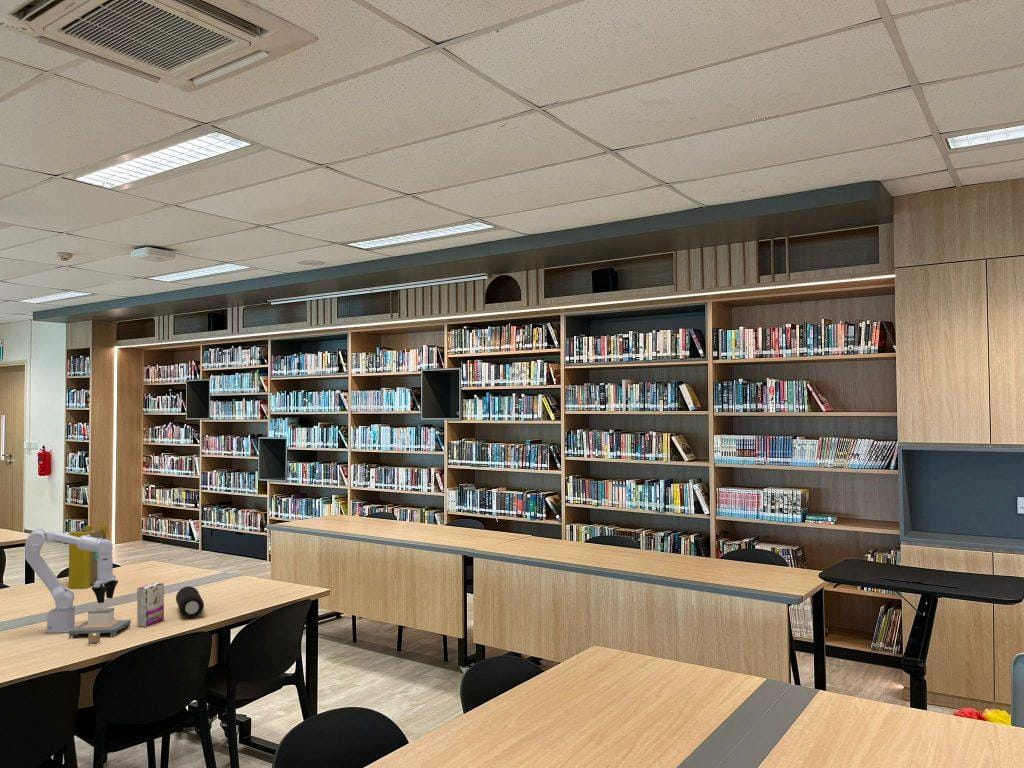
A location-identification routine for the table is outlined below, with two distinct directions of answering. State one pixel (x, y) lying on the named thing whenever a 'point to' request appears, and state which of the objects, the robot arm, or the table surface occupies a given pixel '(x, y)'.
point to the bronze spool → (94, 638)
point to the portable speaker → (189, 602)
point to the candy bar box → (150, 604)
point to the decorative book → (84, 559)
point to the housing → (101, 617)
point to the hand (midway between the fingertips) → (105, 600)
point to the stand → (100, 628)
